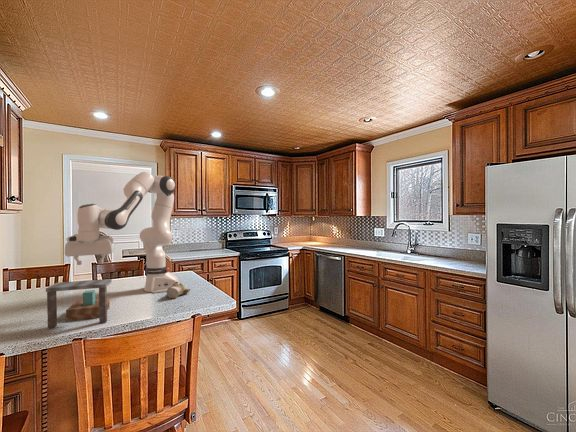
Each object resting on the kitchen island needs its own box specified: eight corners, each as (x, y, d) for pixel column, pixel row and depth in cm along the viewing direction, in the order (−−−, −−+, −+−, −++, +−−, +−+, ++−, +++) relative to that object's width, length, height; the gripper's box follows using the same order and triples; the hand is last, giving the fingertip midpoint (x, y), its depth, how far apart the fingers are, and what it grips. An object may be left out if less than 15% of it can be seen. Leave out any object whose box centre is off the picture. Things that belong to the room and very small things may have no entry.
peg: (95, 312, 144) (95, 289, 143) (92, 314, 140) (92, 292, 139) (86, 313, 142) (85, 290, 142) (83, 315, 139) (82, 292, 138)
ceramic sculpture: (161, 283, 164) (175, 278, 179) (160, 299, 164) (175, 293, 178) (179, 284, 162) (191, 279, 177) (178, 300, 162) (191, 294, 177)
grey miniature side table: (118, 306, 151) (117, 273, 151) (106, 323, 130) (105, 284, 129) (68, 311, 144) (67, 276, 144) (46, 329, 123) (45, 288, 122)
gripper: (114, 234, 152) (115, 260, 153) (67, 236, 145) (69, 264, 146) (111, 236, 146) (112, 263, 147) (62, 238, 139) (64, 266, 140)
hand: (90, 263), depth 146 cm, fingers open, 8 cm apart
